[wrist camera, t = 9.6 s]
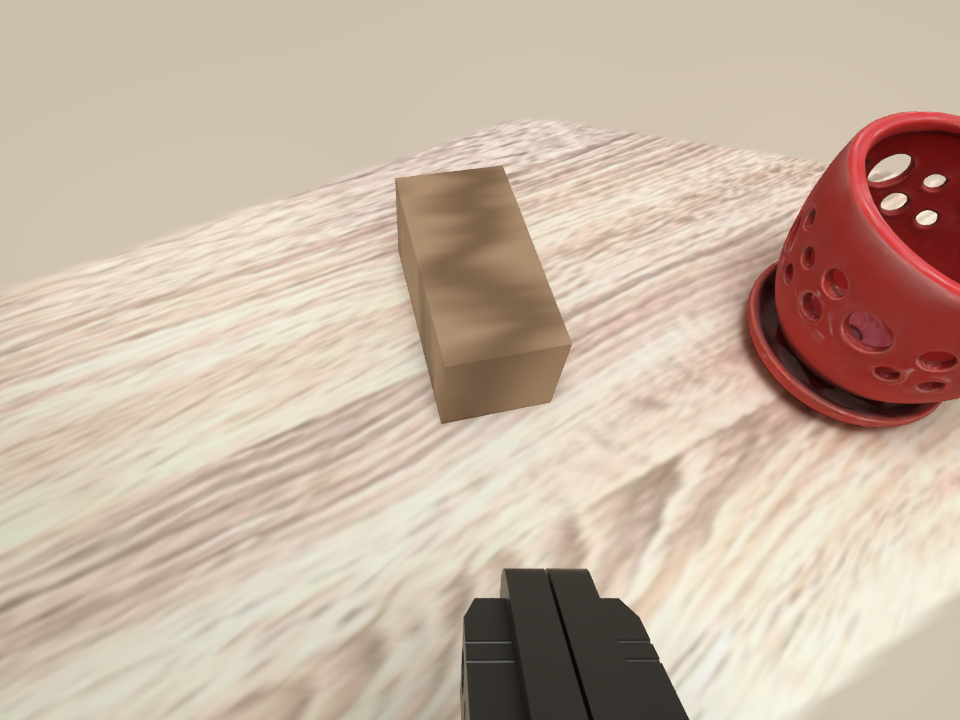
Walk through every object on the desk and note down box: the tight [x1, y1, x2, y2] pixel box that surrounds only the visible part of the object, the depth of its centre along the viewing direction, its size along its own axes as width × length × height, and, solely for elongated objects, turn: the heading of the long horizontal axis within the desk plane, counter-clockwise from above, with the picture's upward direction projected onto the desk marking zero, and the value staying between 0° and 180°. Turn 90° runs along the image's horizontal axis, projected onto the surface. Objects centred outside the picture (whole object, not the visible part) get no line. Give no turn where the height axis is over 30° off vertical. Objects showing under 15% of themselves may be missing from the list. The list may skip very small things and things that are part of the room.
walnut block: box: [395, 166, 572, 424], centre depth 34 cm, size 6×6×12 cm
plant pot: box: [747, 112, 960, 427], centre depth 32 cm, size 13×13×12 cm
